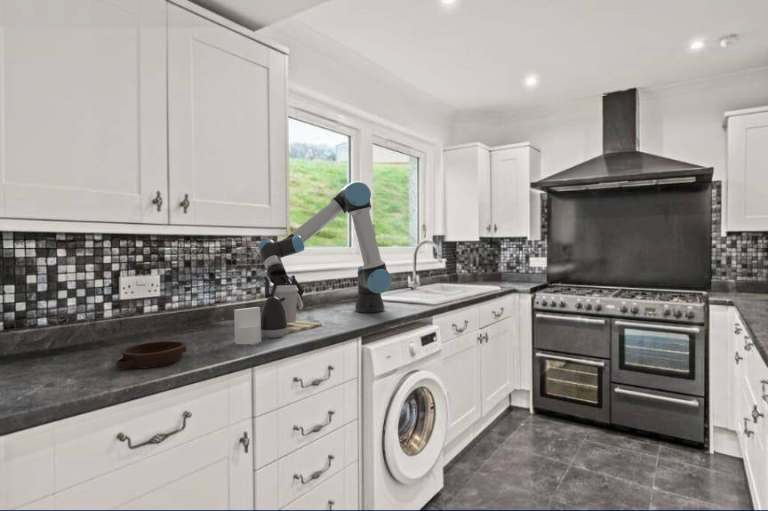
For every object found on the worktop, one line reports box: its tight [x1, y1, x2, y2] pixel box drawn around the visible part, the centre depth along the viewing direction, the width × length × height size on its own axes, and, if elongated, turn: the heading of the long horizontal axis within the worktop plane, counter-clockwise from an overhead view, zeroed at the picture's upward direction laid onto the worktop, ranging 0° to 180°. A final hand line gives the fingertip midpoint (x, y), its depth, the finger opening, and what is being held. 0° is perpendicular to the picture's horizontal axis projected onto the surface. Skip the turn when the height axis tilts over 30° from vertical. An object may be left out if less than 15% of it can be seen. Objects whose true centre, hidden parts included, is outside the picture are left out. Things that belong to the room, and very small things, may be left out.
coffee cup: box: [275, 284, 299, 323], centre depth 189 cm, size 10×10×15 cm
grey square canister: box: [233, 306, 262, 345], centre depth 162 cm, size 9×9×12 cm
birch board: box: [284, 320, 323, 335], centre depth 189 cm, size 20×20×1 cm
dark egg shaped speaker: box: [260, 296, 287, 339], centre depth 170 cm, size 10×10×15 cm
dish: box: [115, 340, 188, 369], centre depth 135 cm, size 18×22×5 cm
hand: (290, 308), depth 186 cm, fingers closed on coffee cup, 9 cm apart
